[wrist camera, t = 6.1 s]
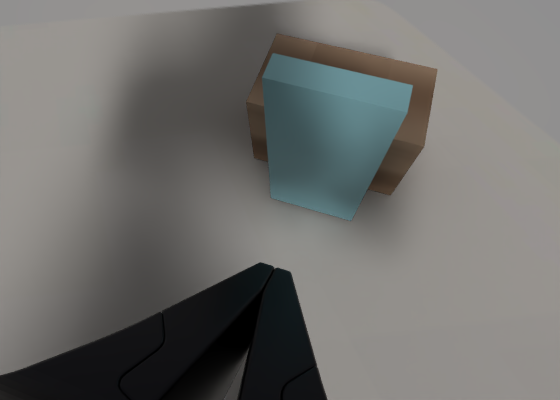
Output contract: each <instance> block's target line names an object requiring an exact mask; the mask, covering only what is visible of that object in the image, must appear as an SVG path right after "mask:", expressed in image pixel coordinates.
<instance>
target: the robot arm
mask: <svg viewBox="0 0 560 400" xmlns="http://www.w3.org/2000/svg"><path fill="white" fill-rule="evenodd" d="M248 350H249V351H248ZM247 352H248V355H247V359H246V363H245V368H244V372H243V377H242V381H241V385H240V390H239V394H238V398H237V400H327V397H326V393H325V390H324V387H323V384H322V381H321V377H320V374H319V370H318V368H317V363H316V360H315V356H314V353H313V349H312V346H311V342H310V339H309V335H308V331H307V328H306V324H305V321H304V317H303V314H302V310H301V307H300V303H299V299H298V296H297V292H296V289H295V285H294V282H293V278H292V275H291V272H289V271H287V270H283V269H280V268H274V267H273V266H271V265H268V264H264V263H258V264H256V265H254V266H252V267H249V268H247V269H245V270H243V271H241V272H239V273H237V274H235V275H233V276H231V277H229V278H227V279H225V280H223V281H221V282H219V283H217V284H215V285H213V286H211V287H209V288H207V289H205V290H203V291H201V292H199V293H197V294H195V295H193V296H191V297H189V298H187V299H185V300H183V301H181V302H179V303H177V304H175V305H173V306H171V307H169V308H167V309H165V310H163V311H162V313H161V312H159V313H157V314H155V315H153V316H151V317H149V318H147V319H145V320H142V321H140V322H138V323H136V324H134V325H132V326H129V327H127V328H125V329H123V330H121V331H118V332H116V333H113V334H111V335H108V336H106V337H103V338H101V339H99V340H96V341H94V342H91V343H88V344H86V345H83V346H81V347H78V348H75V349H73V350H70V351H68V352H65V353H62V354H60V355H57V356H55V357H52V358H49V359H47V360H44V361H42V362H39V363H37V364H34V365H31V366H29V367H26V368H23V369H20V370H17V371H15V372H11V373H7V374H4V375H0V400H223V399H224V397H225V395H226V393H227V391H228V389H229V387H230V385H231V383H232V382H233V380H234V378H235V376H236V374H237V372H238V370H239V368H240V366H241V364H242V362H243V360H244V358H245V356H246V354H247Z"/></svg>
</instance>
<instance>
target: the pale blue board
mask: <svg viewBox="0 0 560 400" xmlns="http://www.w3.org/2000/svg"><path fill="white" fill-rule="evenodd" d="M262 85H263V98H264V112H265V125H266V138H267V151H268V165H269V178H270V191H271V198H273V199H277V200H280V201H284V202H287V203H291V204H294V205H298V206H301V207H304V208H308V209H311V210H315V211H318V212H322V213H325V214H329V215H332V216H336V217H339V218H343V219H346V220H349V221H351V220H352V218H353V216H354V214H355V212H356V210H357V208H358V206H359V205H360V203H361V201H362V199H363V197H364V195H365V193H366V191H367V189H368V187H369V185H370V183H371V181H372V180H373V178H374V176H375V174H376V172H377V170H378V168H379V166H380V164H381V162H382V160H383V158H384V157H385V155H386V153H387V151H388V149H389V147H390V145H391V143H392V141H393V139H394V137H395V135H396V134H397V132H398V130H399V128H400V126H401V124H402V122H403V120H404V118H405V116H406V114H407V112H408V107H409V102H410V98H411V93H412V88H413V85H410V84H405V83H401V82H397V81H392V80H388V79H384V78H379V77H375V76H371V75H366V74H362V73H358V72H353V71H349V70H345V69H340V68H336V67H331V66H327V65H323V64H318V63H314V62H310V61H305V60H301V59H297V58H292V57H288V56H284V55H279V54H275V53H273V54H272V56H271V58H270V60H269V63H268V65H267V67H266V69H265V72H264V74H263V76H262Z"/></svg>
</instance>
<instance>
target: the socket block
mask: <svg viewBox="0 0 560 400" xmlns="http://www.w3.org/2000/svg"><path fill="white" fill-rule="evenodd" d="M273 53H275V54H279V55H284V56H288V57H292V58H297V59H301V60H305V61H310V62H314V63H318V64H323V65H327V66H331V67H336V68H340V69H345V70H349V71H353V72H358V73H362V74H366V75H371V76H375V77H379V78H384V79H388V80H392V81H397V82H401V83H405V84H410V85H413V88H412V93H411V98H410V102H409V107H408V112H407V114H406V116H405V118H404V120H403V122H402V124H401V126H400V128H399V130H398V132H397V134H396V135H395V137H394V139H393V141H392V143H391V145H390V147H389V149H388V151H387V153H386V155H385V157H384V158H383V160H382V162H381V164H380V166H379V168H378V170H377V172H376V174H375V176H374V178H373V180H372V181H371V183H370V185H369V187H368V189H369V190H373V191H377V192H380V193H384V194H387V195H391V194H392V193H393V191H394V190H395V188H396V187H397V185H398V184H399V182H400V181H401V180H402V178H403V177H404V175H405V174H406V172H407V171H408V169H409V168H410V166H411V165H412V164H413V162H414V161H415V159H416V158H417V156H418V155H419V153H420V152H421V150H422V149H423V148H424V145H425V139H426V133H427V127H428V122H429V116H430V110H431V104H432V98H433V93H434V87H435V81H436V75H437V69H434V68H430V67H425V66H421V65H416V64H412V63H407V62H403V61H398V60H394V59H389V58H385V57H380V56H376V55H371V54H367V53H362V52H358V51H353V50H349V49H344V48H340V47H335V46H331V45H326V44H322V43H317V42H313V41H308V40H304V39H299V38H295V37H290V36H286V35H281V34H277V35H276V37H275V39H274V41H273V43H272V46H271V48H270V50H269V52H268V54H267V57H266V59H265V61H264V63H263V66H262V68H261V70H260V72H259V74H258V77H257V79H256V81H255V83H254V85H253V88H252V90H251V92H250V94H249V97H248V99H247V101H246V104H247V111H248V118H249V125H250V131H251V138H252V145H253V152H254V158H256V159H260V160H264V161H267V162H268V151H267V138H266V125H265V112H264V98H263V85H262V76H263V74H264V72H265V69H266V67H267V65H268V63H269V60H270V58H271V56H272V54H273Z"/></svg>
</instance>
